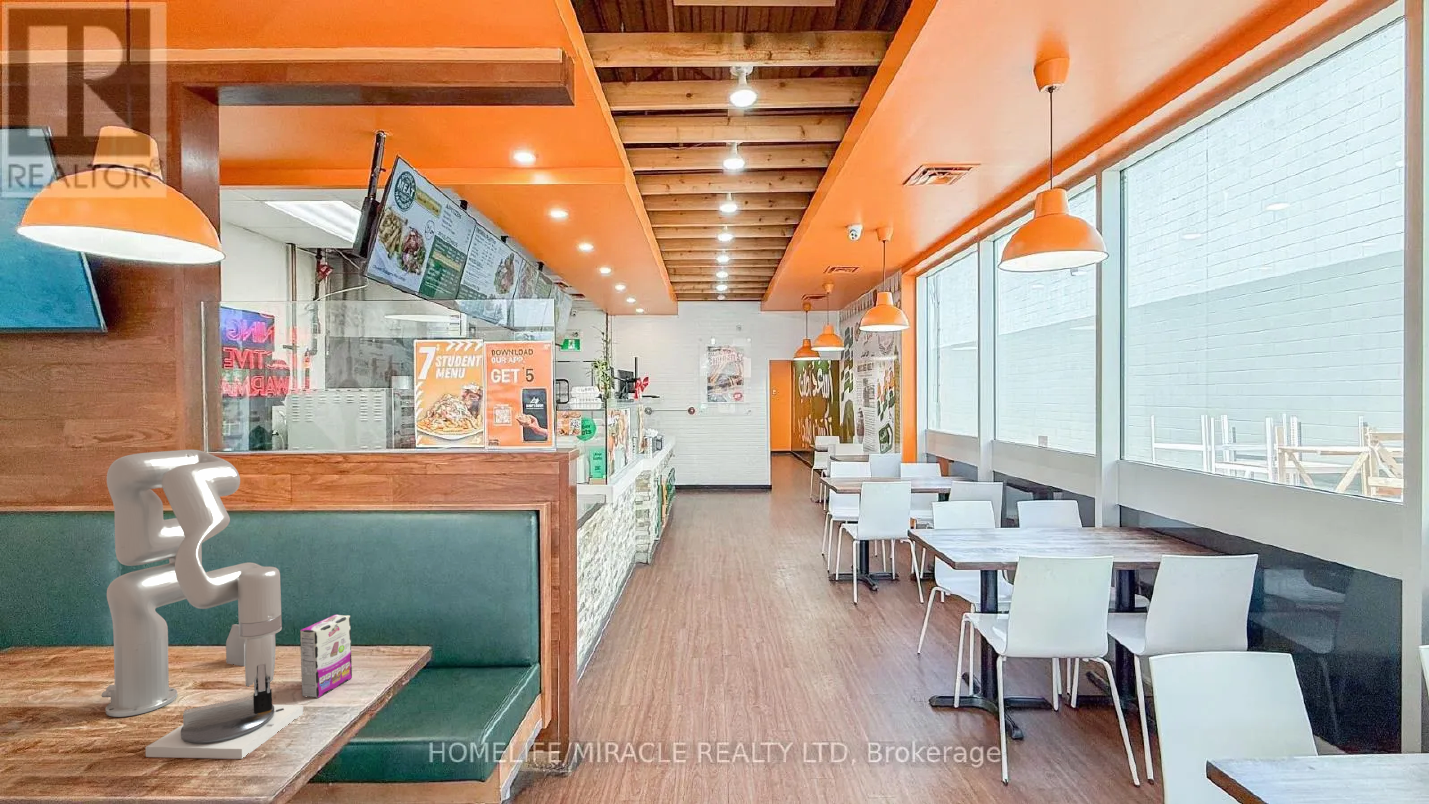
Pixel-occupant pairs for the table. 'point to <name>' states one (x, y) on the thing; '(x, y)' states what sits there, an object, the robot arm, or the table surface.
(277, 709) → the dial plate
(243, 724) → the dial
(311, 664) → the candy bar box
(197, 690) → the table surface
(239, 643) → the grey milk carton
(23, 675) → the table surface
